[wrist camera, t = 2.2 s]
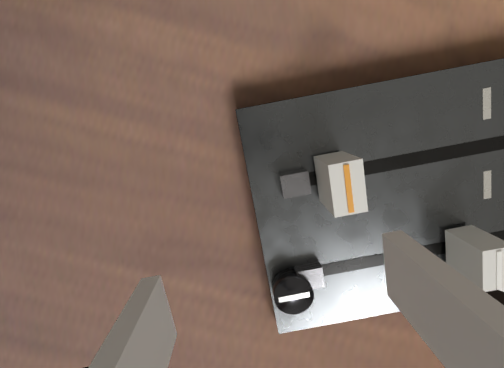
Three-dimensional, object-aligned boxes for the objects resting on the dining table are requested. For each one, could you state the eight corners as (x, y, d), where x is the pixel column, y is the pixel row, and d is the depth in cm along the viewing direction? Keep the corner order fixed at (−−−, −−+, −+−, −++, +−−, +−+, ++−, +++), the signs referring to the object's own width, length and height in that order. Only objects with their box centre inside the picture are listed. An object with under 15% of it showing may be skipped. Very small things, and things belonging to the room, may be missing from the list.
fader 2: (444, 229, 28) (483, 252, 24) (471, 224, 28) (515, 246, 24) (446, 268, 29) (484, 297, 25) (472, 263, 29) (514, 291, 25)
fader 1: (313, 156, 26) (328, 165, 22) (342, 150, 26) (363, 159, 22) (319, 200, 27) (335, 218, 23) (347, 195, 27) (368, 212, 23)
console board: (235, 109, 27) (235, 109, 24) (569, 46, 27) (622, 35, 23) (276, 320, 32) (281, 347, 29) (557, 268, 32) (599, 288, 28)
